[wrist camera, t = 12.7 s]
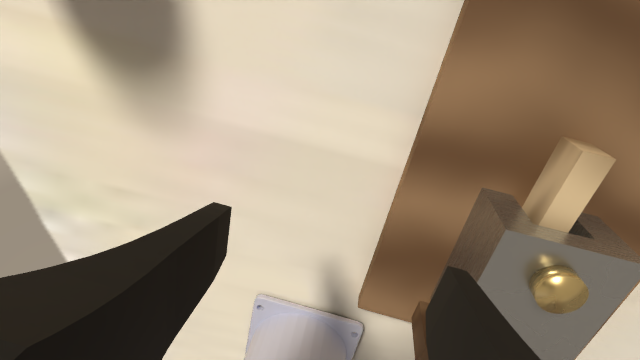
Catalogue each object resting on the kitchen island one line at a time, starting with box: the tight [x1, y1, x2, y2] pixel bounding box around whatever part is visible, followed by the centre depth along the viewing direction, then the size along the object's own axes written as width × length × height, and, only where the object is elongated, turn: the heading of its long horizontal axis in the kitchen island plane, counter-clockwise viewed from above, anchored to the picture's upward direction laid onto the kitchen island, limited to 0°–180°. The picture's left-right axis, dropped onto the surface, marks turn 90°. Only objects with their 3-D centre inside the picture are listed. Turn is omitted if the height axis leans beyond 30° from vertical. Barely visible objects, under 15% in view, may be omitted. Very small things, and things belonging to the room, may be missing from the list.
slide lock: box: [430, 187, 640, 360], centre depth 18 cm, size 8×6×5 cm
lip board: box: [358, 0, 640, 360], centre depth 17 cm, size 22×14×4 cm, turn 168°
